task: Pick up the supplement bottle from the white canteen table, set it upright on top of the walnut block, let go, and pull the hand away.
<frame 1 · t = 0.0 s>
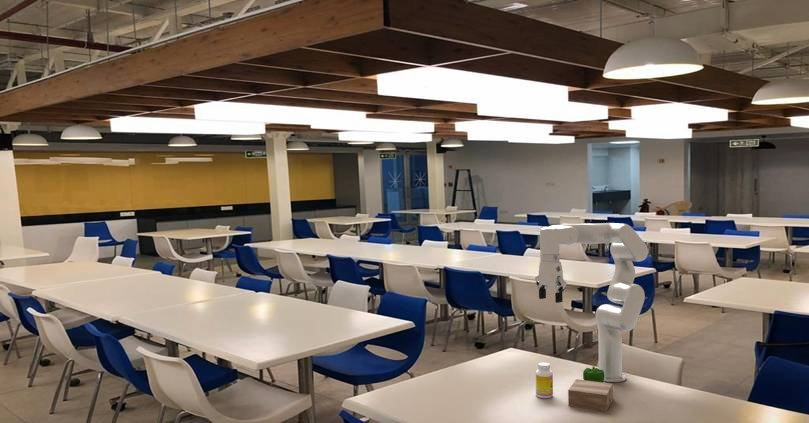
hand: (550, 300, 249), 37 cm above the table, tool pointing down, fingers open, 9 cm apart
walnut block: (590, 402, 237), on the table
bell pepper: (593, 389, 252), on the table
supplement bottle: (544, 396, 246), on the table
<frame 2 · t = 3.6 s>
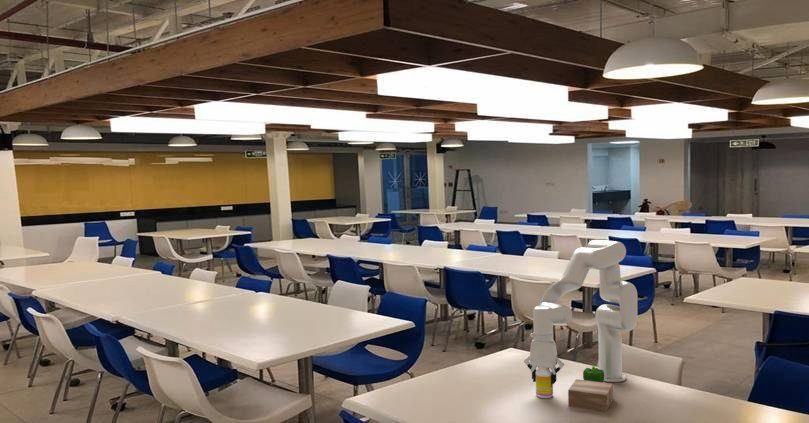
hand: (544, 381, 245), 6 cm above the table, tool pointing down, fingers closed on supplement bottle, 6 cm apart
supplement bottle: (544, 396, 246), on the table, touching gripper
everything else where it was.
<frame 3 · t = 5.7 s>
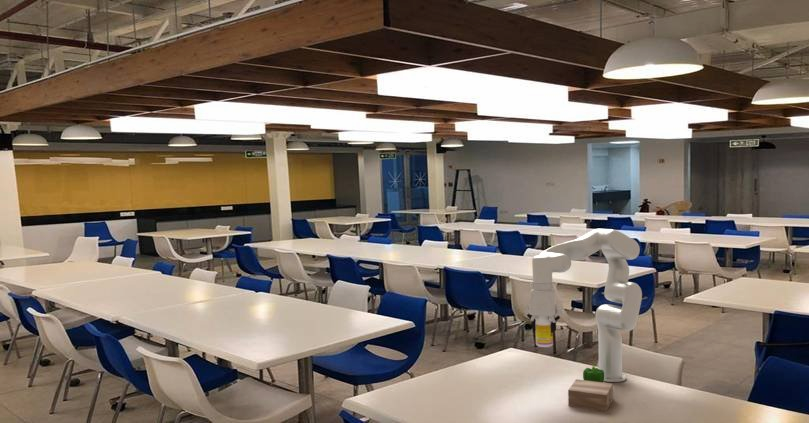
hand: (544, 331, 245), 26 cm above the table, tool pointing down, fingers closed on supplement bottle, 6 cm apart
supplement bottle: (544, 345, 245), point 20 cm above the table, touching gripper
everything else where it was.
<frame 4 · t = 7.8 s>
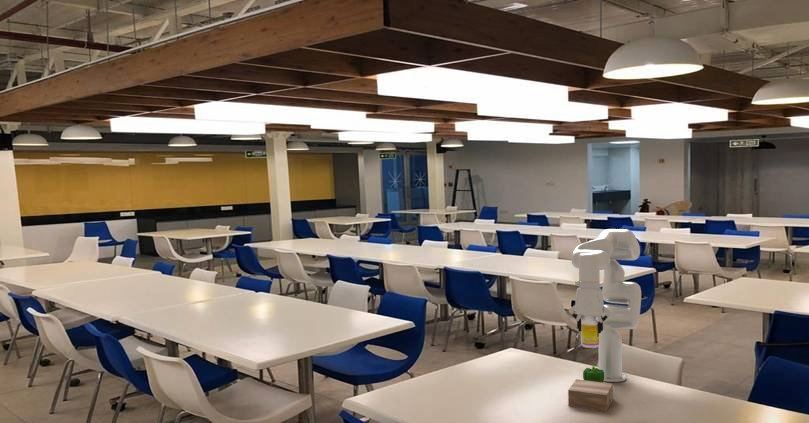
hand: (590, 331, 236), 27 cm above the table, tool pointing down, fingers closed on supplement bottle, 6 cm apart
supplement bottle: (590, 346, 236), point 22 cm above the table, touching gripper
everything else where it was.
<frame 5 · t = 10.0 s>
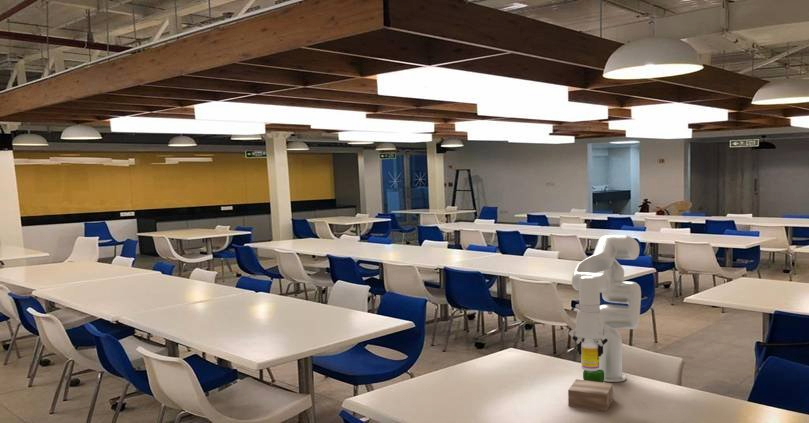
hand: (590, 354, 236), 19 cm above the table, tool pointing down, fingers closed on supplement bottle, 6 cm apart
supplement bottle: (590, 369, 237), point 13 cm above the table, touching gripper
everything else where it was.
when the fingers open (12 cm above the table, at t = 12.1 s): supplement bottle stays where it is, resting on walnut block.
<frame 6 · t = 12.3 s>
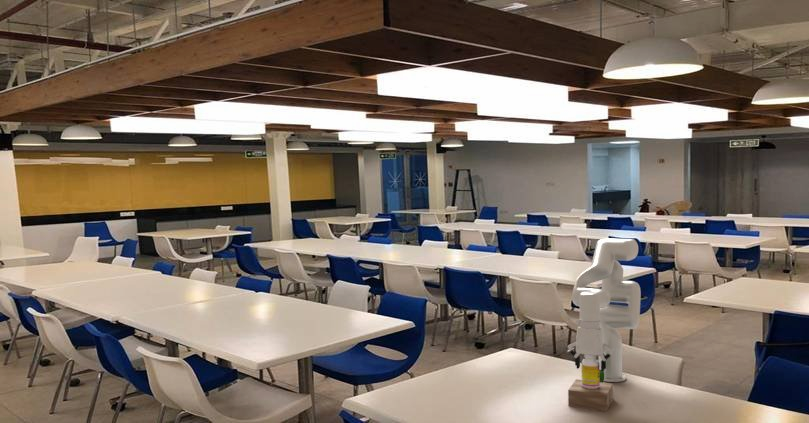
hand: (590, 368, 237), 13 cm above the table, tool pointing down, fingers open, 8 cm apart
supplement bottle: (590, 387, 237), point 6 cm above the table, touching walnut block
everything else where it was.
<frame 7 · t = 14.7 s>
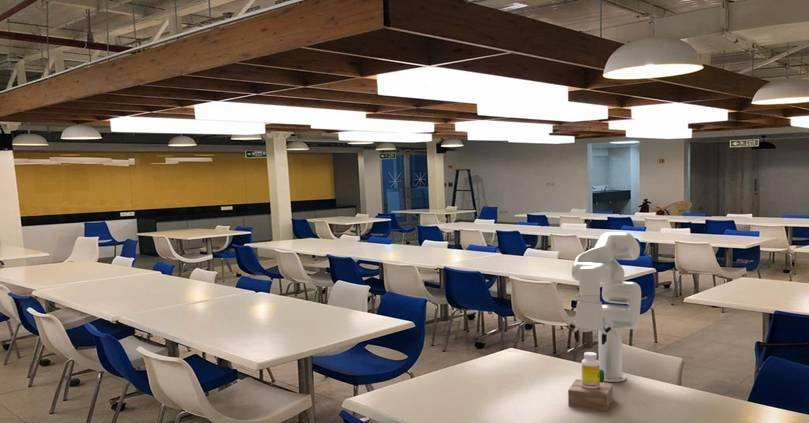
hand: (590, 342, 237), 23 cm above the table, tool pointing down, fingers open, 9 cm apart
nothing on the table moved.
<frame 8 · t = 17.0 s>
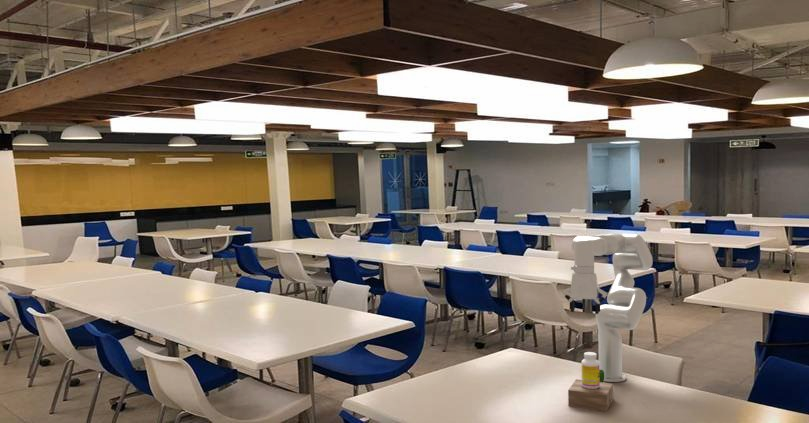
hand: (584, 312, 247), 32 cm above the table, tool pointing down, fingers open, 9 cm apart
nothing on the table moved.
at the end: supplement bottle inside the target area on the walnut block (0.1 cm from its centre), point 5.8 cm above the walnut block's base; supplement bottle tilted 0°; the gripper is holding nothing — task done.
